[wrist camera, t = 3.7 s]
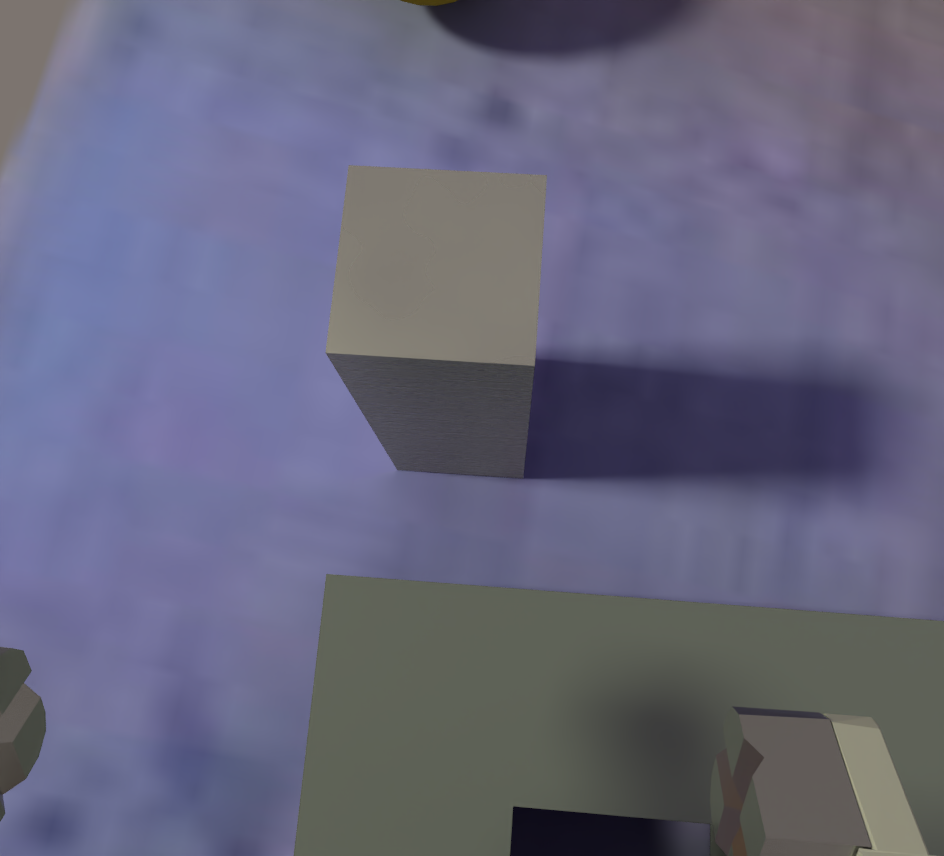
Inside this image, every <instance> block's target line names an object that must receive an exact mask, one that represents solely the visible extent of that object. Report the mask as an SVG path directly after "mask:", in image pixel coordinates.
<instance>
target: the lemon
mask: <svg viewBox="0 0 944 856" xmlns="http://www.w3.org/2000/svg"><path fill="white" fill-rule="evenodd" d="M401 1H404V2H408V3H412V4H416V5H429V6H438V5H442V4H447V3H452V2H455V1H457V0H401Z"/></svg>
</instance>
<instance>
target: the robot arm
mask: <svg viewBox="0 0 944 856" xmlns="http://www.w3.org/2000/svg"><path fill="white" fill-rule="evenodd" d="M31 671H32V670H31V668H30V666H29V663H28V661H27V658H26V656H25V653H24V651H22V650H17V649H13V648H4V647H0V821H1V820H2V818H3V816H4V815H5V808H4V801H3V794H4V793H6V792H7V791H9V790H10V789H12V788H13V787H15V786H16V785H17V784H19V783H20V782H22V781H23V780H25V779H26V778H27V776H28V774H29V772H30V771H31V769H32V767H33V765H34V764H35V762H36V760H37V758H38V757H39V753H40V750H41V746H42V743H43V739H44V735H45V732H46V718H45V710H44V706H43V703H42V700H41V697H40V696H38V695H37V694H36V693H35V692H34V691H32V690H31V689H30V688H29V687H28V686H27V685H25V684H24V682H25V680H26V679H27V677H28V676H29V674H30V673H31ZM723 733H724V738H725V744H726V748H725V749H724V750H723V751H721V752H720V753H718V754H717V755H716V757H715V761H714V766H713V770H712V775H711V791H710V807H711V820H712V827H713V833H714V840H715V842H716V844H717V845H718V846H719V847H720V848H721V849H722V851H723V852H724V853H725V854H726V855H727V856H936V855H929V852H928V850H927V847H926V845H925V842H924V840H923V837H922V835H921V832H920V829H919V827H918V824H917V822H916V819H915V817H914V814H913V811H912V809H911V806H910V804H909V801H908V799H907V796H906V794H905V791H904V788H903V786H902V783H901V781H900V778H899V776H898V773H897V771H896V768H895V765H894V763H893V760H892V758H891V755H890V753H889V750H888V747H887V745H886V742H885V740H884V737H883V735H882V732H881V730H880V727H879V725H878V724H877V723H876V722H875V721H874V720H873V718H872V717H864V716H851V715H838V714H826V713H825V714H821V713H819V712H806V711H792V710H778V709H763V708H749V707H735V706H732V707H731V708H730V710H729V711H728V713H727V715H726V719H725V722H724V726H723Z"/></svg>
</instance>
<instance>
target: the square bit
mask: <svg viewBox="0 0 944 856" xmlns="http://www.w3.org/2000/svg"><path fill="white" fill-rule="evenodd" d="M546 180H547V175H530V174H510V173H490V172H470V171H451V170H431V169H411V168H391V167H371V166H351V165H349V168H348V176H347V184H346V192H345V200H344V208H343V216H342V224H341V232H340V241H339V249H338V257H337V265H336V273H335V281H334V289H333V297H332V305H331V313H330V322H329V330H328V338H327V346H326V354H327V356H328V358H329V359H330V361H331V362H332V364H333V366H334V367H335V369H336V371H337V372H338V374H339V376H340V377H341V379H342V380H343V382H344V384H345V385H346V387H347V389H348V390H349V392H350V394H351V395H352V397H353V398H354V400H355V402H356V403H357V405H358V407H359V408H360V410H361V412H362V413H363V415H364V416H365V418H366V420H367V421H368V423H369V425H370V426H371V428H372V430H373V431H374V433H375V434H376V436H377V438H378V439H379V441H380V443H381V444H382V446H383V447H384V449H385V451H386V452H387V454H388V456H389V457H390V459H391V461H392V462H393V464H394V465H395V467H396V469H397V470H406V471H421V472H435V473H449V474H464V475H478V476H493V477H507V478H522V479H523V475H524V465H525V456H526V446H527V436H528V427H529V417H530V407H531V397H532V388H533V378H534V368H535V354H536V338H537V322H538V306H539V291H540V275H541V259H542V243H543V228H544V212H545V196H546Z"/></svg>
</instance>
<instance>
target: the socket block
mask: <svg viewBox="0 0 944 856" xmlns="http://www.w3.org/2000/svg"><path fill="white" fill-rule="evenodd" d="M732 706H735V707H749V708H763V709H778V710H792V711H806V712H819V713H821V714H825V713H826V714H838V715H851V716H864V717H872V718H873V720H874V721H875V722H876V723H877V724H878V725H879V727H880V730H881V732H882V735H883V737H884V740H885V742H886V745H887V747H888V750H889V753H890V755H891V758H892V760H893V763H894V765H895V768H896V771H897V773H898V776H899V778H900V781H901V783H902V786H903V788H904V791H905V794H906V796H907V799H908V801H909V804H910V806H911V809H912V811H913V814H914V817H915V819H916V822H917V824H918V827H919V829H920V832H921V835H922V837H923V840H924V842H925V845H926V847H927V850H928V852H929V855H936V856H944V621H934V620H921V619H908V618H895V617H882V616H869V615H856V614H843V613H829V612H816V611H803V610H790V609H777V608H764V607H751V606H738V605H724V604H711V603H698V602H685V601H672V600H659V599H646V598H633V597H619V596H606V595H593V594H580V593H567V592H554V591H541V590H528V589H514V588H501V587H488V586H475V585H462V584H449V583H436V582H423V581H409V580H396V579H383V578H370V577H357V576H344V575H331V574H326V582H325V591H324V599H323V608H322V617H321V625H320V634H319V643H318V651H317V660H316V668H315V677H314V686H313V694H312V703H311V712H310V720H309V729H308V737H307V746H306V755H305V763H304V772H303V780H302V789H301V798H300V806H299V815H298V824H297V832H296V841H295V849H294V856H510V847H511V831H512V815H513V806H515V807H526V808H537V809H548V810H559V811H571V812H582V813H593V814H604V815H615V816H626V817H638V818H649V819H660V820H671V821H682V822H693V823H704V824H710V856H727V855H726V854H725V853H724V852H723V851H722V849H721V848H720V847H719V846H718V845H717V844H716V842H715V840H714V833H713V827H712V820H711V807H710V791H711V775H712V770H713V766H714V761H715V757H716V755H717V754H718V753H720V752H721V751H723V750H724V749H725V748H726V744H725V738H724V733H723V726H724V722H725V719H726V715H727V713H728V711H729V710H730V708H731V707H732Z"/></svg>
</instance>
